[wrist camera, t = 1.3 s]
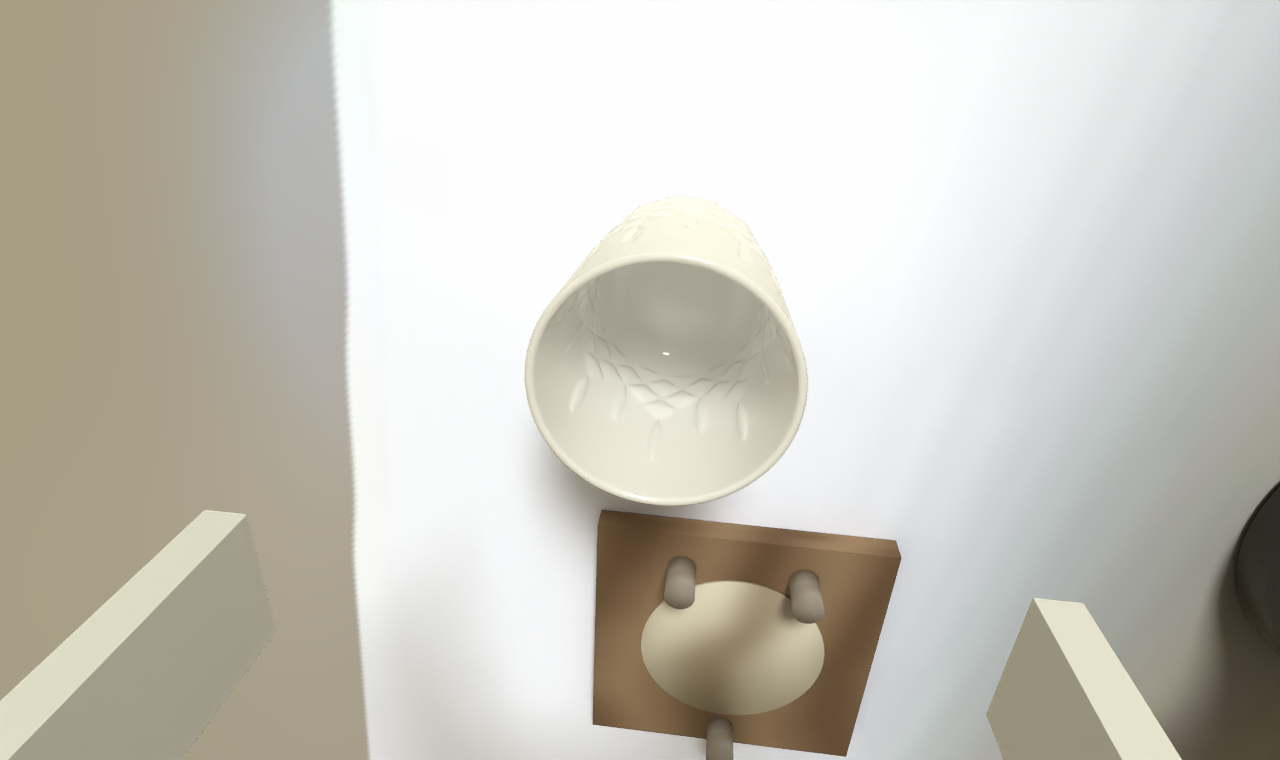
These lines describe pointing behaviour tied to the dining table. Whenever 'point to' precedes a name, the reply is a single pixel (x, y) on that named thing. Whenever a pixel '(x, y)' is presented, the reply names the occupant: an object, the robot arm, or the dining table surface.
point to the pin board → (736, 630)
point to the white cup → (669, 359)
